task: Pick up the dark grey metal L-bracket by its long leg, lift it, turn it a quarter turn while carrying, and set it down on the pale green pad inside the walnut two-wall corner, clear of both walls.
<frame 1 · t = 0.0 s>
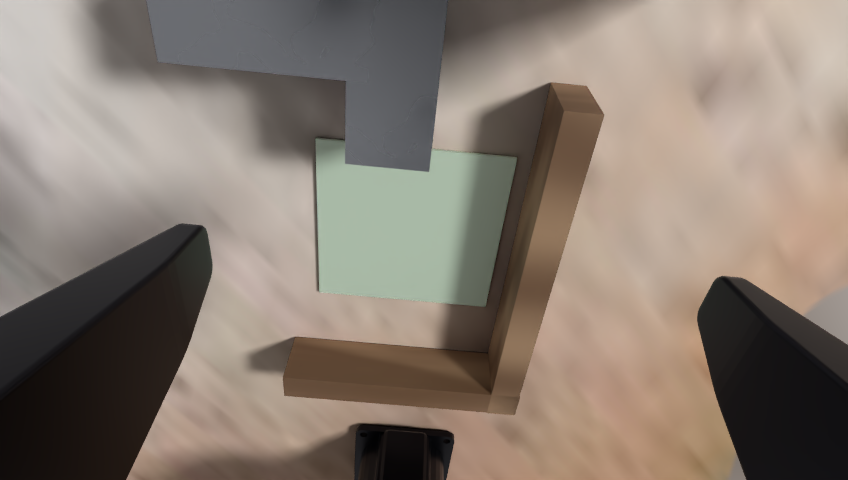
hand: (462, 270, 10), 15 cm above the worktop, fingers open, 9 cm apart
wooden corner frame: (409, 229, 27), on the worktop
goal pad: (409, 229, 27), on the worktop
bracket: (326, 34, 22), on the worktop
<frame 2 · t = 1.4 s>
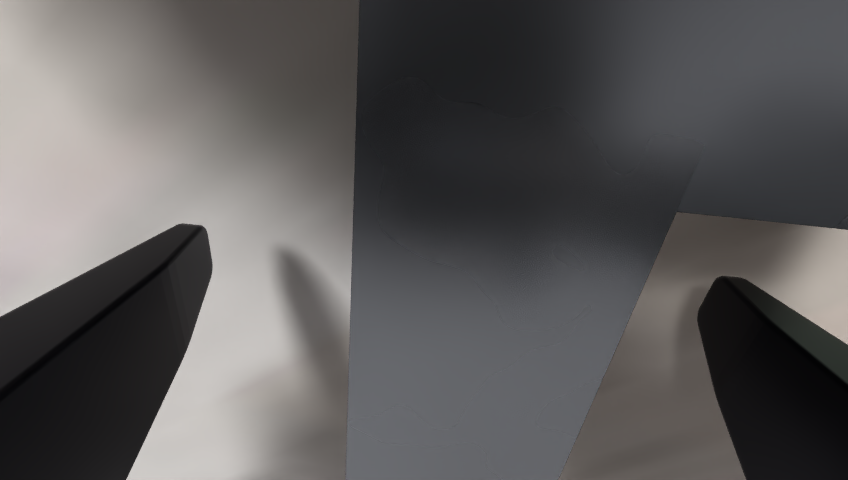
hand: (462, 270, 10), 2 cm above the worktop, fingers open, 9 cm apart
bracket: (553, 133, 10), on the worktop
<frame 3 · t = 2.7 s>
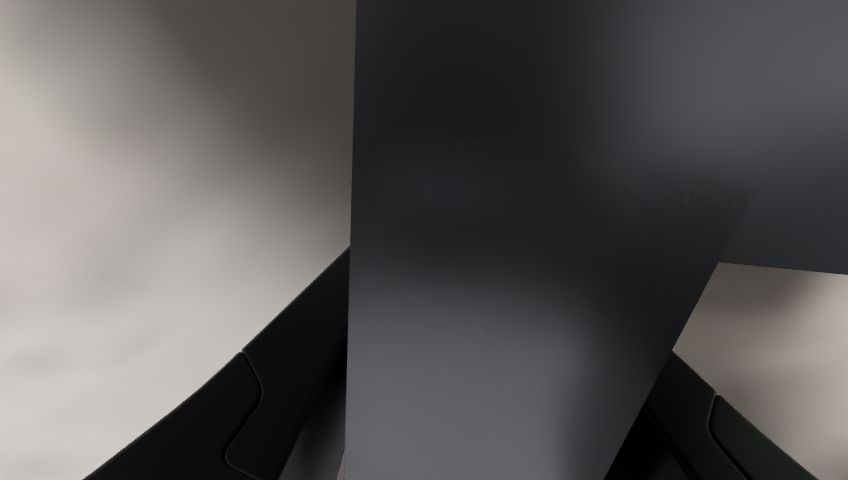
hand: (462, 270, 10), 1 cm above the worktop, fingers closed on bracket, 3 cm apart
bracket: (563, 151, 9), on the worktop, touching gripper
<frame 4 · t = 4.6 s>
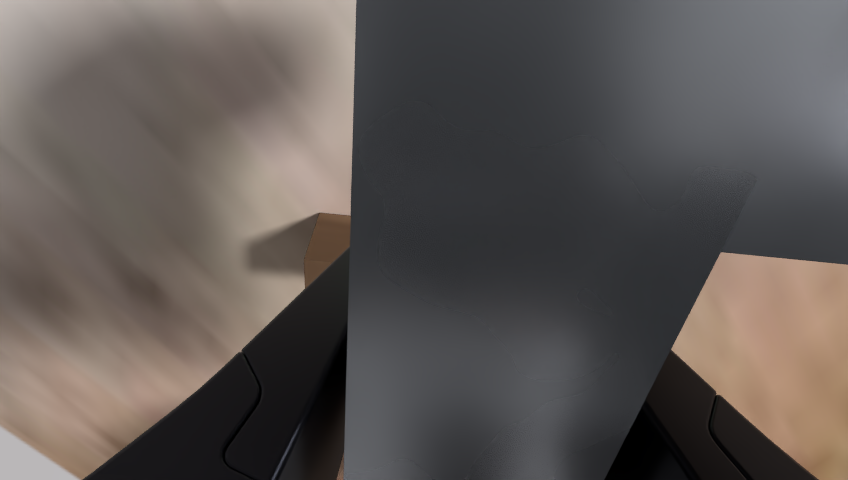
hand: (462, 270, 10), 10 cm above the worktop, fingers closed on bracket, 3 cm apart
wooden corner frame: (509, 10, 17), on the worktop
bracket: (562, 150, 9), point 9 cm above the worktop, touching gripper
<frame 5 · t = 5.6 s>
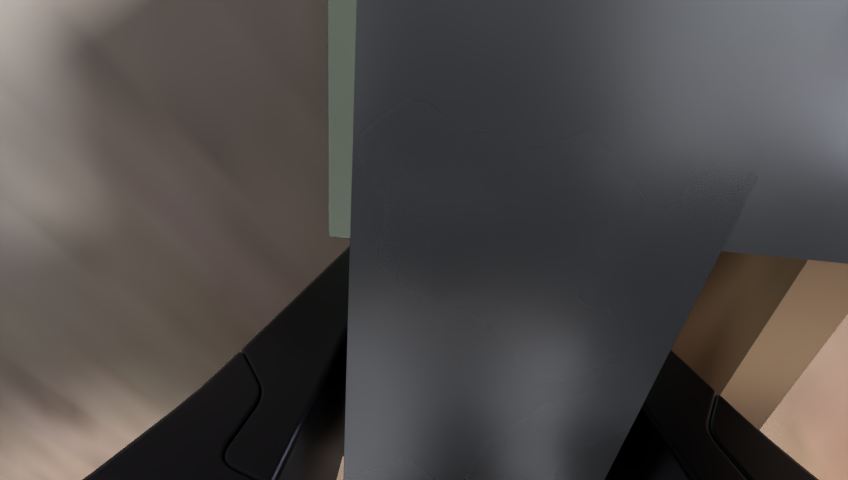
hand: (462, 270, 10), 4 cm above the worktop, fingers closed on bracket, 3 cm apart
wooden corner frame: (539, 82, 12), on the worktop
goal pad: (539, 82, 12), on the worktop
bracket: (563, 150, 9), point 3 cm above the worktop, touching gripper
when the fingers open (3 cm above the worktop, at t = 6.5 s): bracket drops 1 cm, resting on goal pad.
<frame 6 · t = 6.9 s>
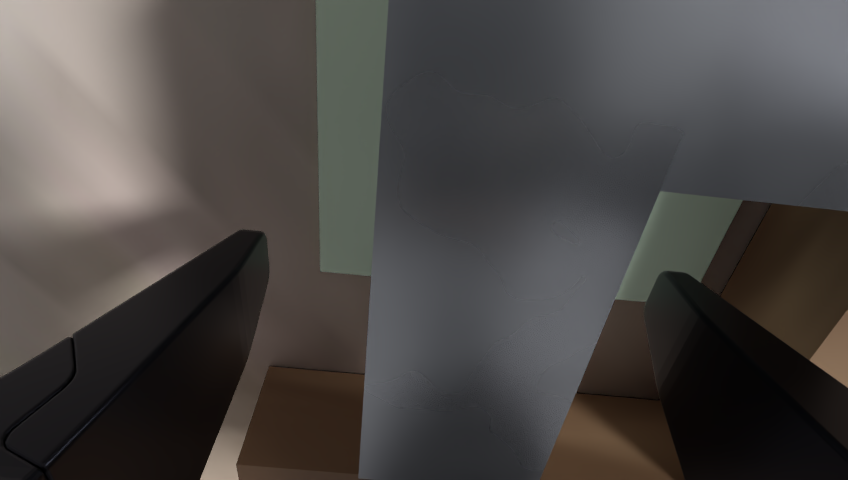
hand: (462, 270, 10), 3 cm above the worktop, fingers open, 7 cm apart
wooden corner frame: (548, 110, 11), on the worktop
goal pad: (548, 110, 11), on the worktop
bracket: (550, 126, 11), resting on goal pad
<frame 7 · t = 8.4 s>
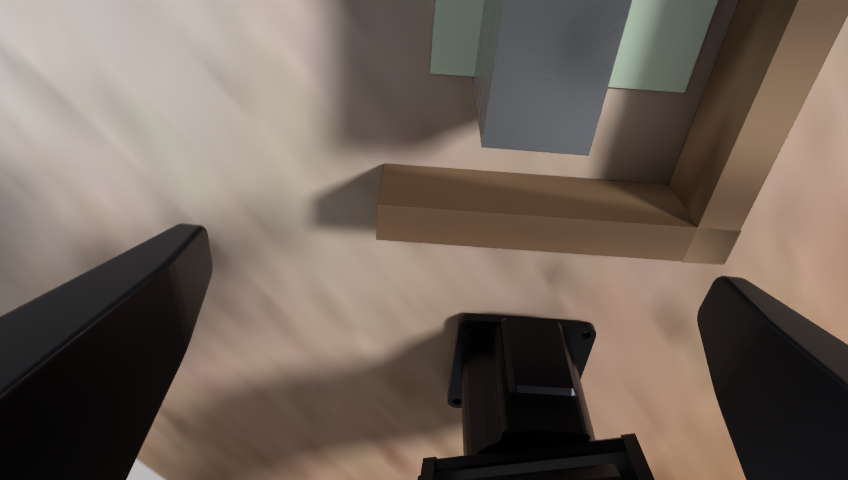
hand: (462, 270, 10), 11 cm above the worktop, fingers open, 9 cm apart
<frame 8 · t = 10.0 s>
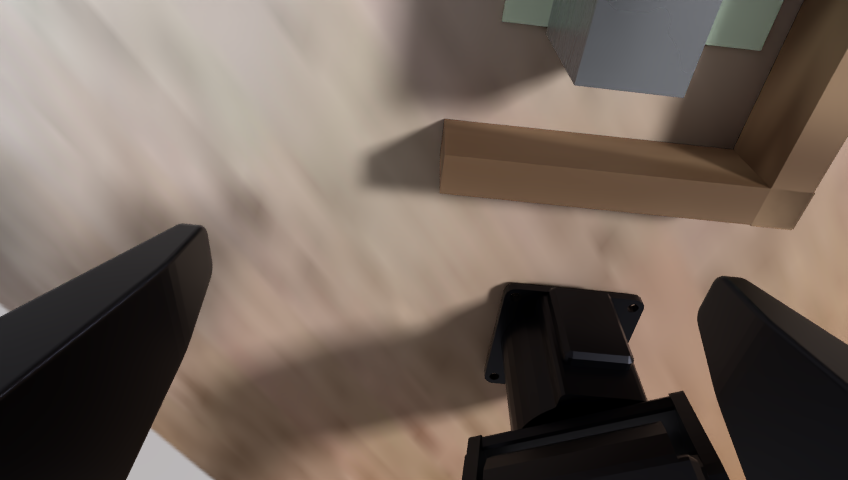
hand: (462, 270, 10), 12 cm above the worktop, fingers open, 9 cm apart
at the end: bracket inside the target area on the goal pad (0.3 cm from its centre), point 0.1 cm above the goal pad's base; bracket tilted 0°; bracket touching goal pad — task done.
